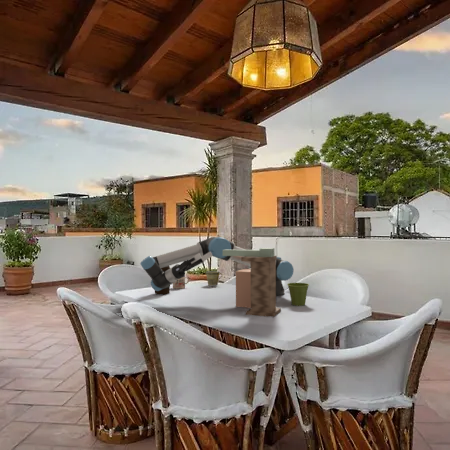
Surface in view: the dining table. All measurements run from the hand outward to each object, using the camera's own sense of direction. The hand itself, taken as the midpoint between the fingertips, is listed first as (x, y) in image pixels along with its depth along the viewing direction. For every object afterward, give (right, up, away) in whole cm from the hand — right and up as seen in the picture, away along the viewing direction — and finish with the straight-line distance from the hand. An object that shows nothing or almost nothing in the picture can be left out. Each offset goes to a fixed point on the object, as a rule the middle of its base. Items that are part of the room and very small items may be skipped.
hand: (206, 254), depth 200 cm
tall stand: (+27, -28, -11) cm, 41 cm away
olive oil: (-31, -29, +46) cm, 62 cm away
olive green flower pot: (+2, -29, +78) cm, 84 cm away
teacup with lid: (-21, -29, +69) cm, 78 cm away
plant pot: (+50, -28, +8) cm, 58 cm away
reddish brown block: (+25, -28, +8) cm, 38 cm away
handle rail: (+21, 0, -8) cm, 23 cm away
